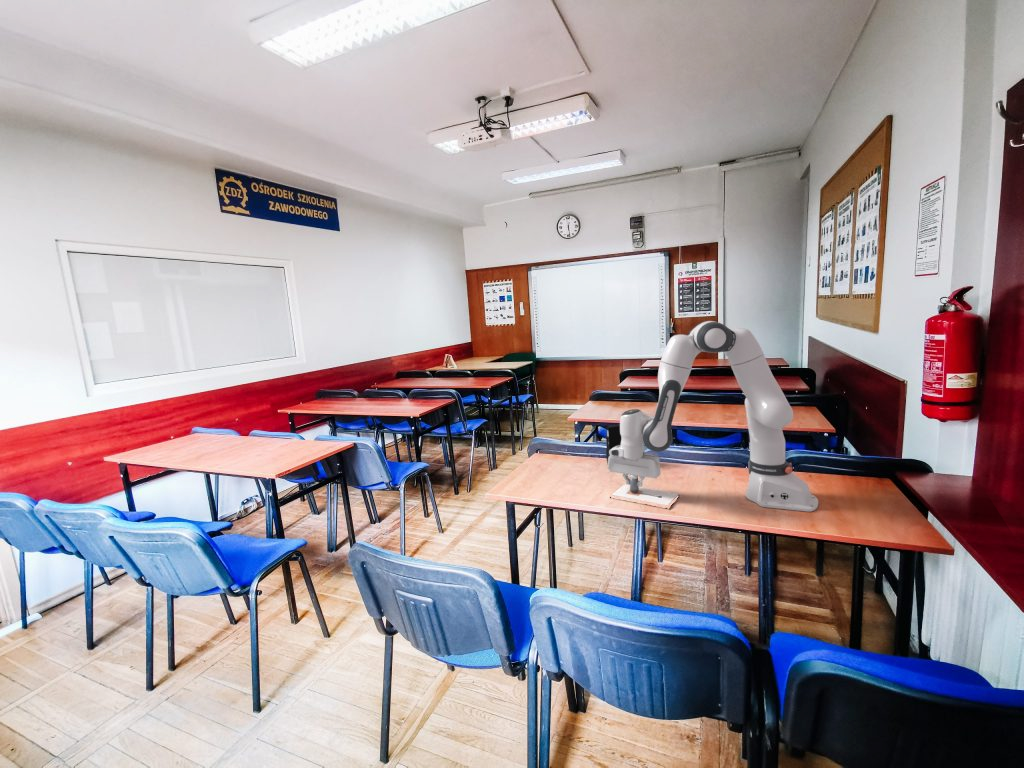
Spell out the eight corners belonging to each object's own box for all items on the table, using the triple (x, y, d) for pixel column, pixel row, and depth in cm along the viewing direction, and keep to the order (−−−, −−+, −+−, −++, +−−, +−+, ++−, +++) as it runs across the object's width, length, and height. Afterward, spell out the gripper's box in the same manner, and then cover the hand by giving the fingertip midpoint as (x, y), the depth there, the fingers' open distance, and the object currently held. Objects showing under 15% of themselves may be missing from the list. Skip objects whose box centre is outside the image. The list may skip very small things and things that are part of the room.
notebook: (680, 496, 169) (680, 493, 169) (668, 509, 159) (668, 506, 159) (623, 486, 183) (623, 483, 183) (609, 498, 173) (609, 494, 173)
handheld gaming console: (610, 469, 204) (608, 427, 201) (606, 466, 209) (603, 425, 206) (634, 465, 207) (632, 424, 204) (628, 462, 212) (627, 422, 209)
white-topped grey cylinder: (640, 490, 174) (639, 473, 173) (636, 493, 171) (636, 475, 170) (632, 488, 176) (631, 471, 175) (628, 491, 173) (627, 474, 172)
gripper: (662, 451, 167) (663, 486, 169) (612, 446, 180) (613, 478, 182) (656, 456, 162) (657, 492, 164) (605, 450, 175) (607, 483, 177)
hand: (634, 485), depth 173 cm, fingers closed on white-topped grey cylinder, 3 cm apart
